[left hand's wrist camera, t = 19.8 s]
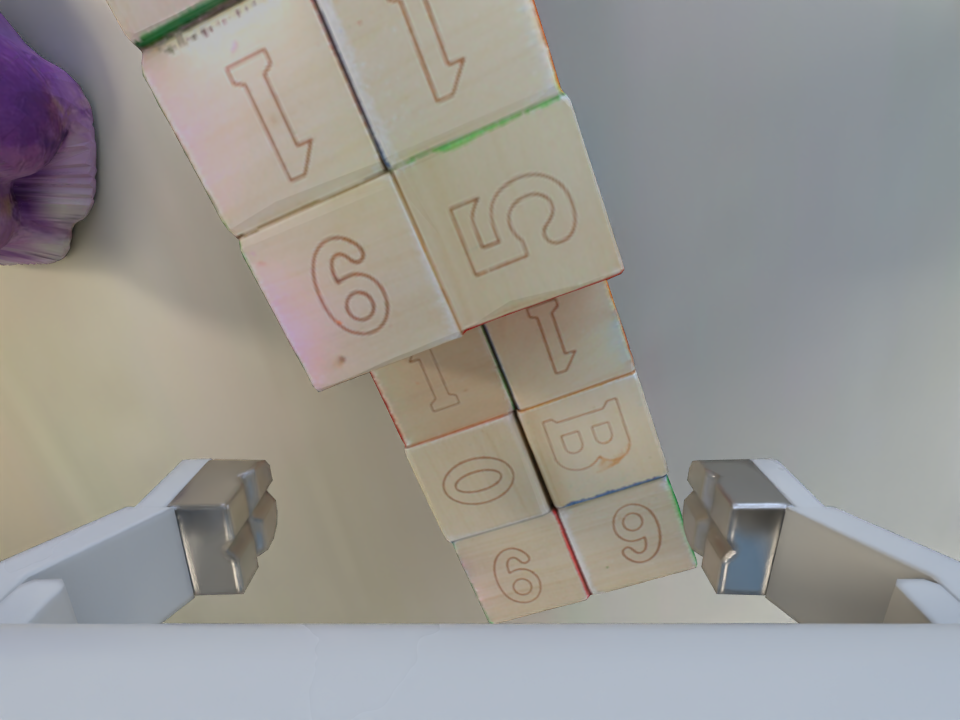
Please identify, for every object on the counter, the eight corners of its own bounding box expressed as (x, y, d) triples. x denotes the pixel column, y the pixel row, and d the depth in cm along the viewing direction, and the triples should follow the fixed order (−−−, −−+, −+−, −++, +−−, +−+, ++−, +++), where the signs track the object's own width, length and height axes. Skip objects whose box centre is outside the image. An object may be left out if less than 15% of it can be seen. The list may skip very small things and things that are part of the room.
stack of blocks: (626, 424, 23) (750, 672, 12) (491, 467, 24) (479, 735, 12) (439, -148, 17) (300, -851, 5) (268, -61, 18) (-163, -499, 6)
